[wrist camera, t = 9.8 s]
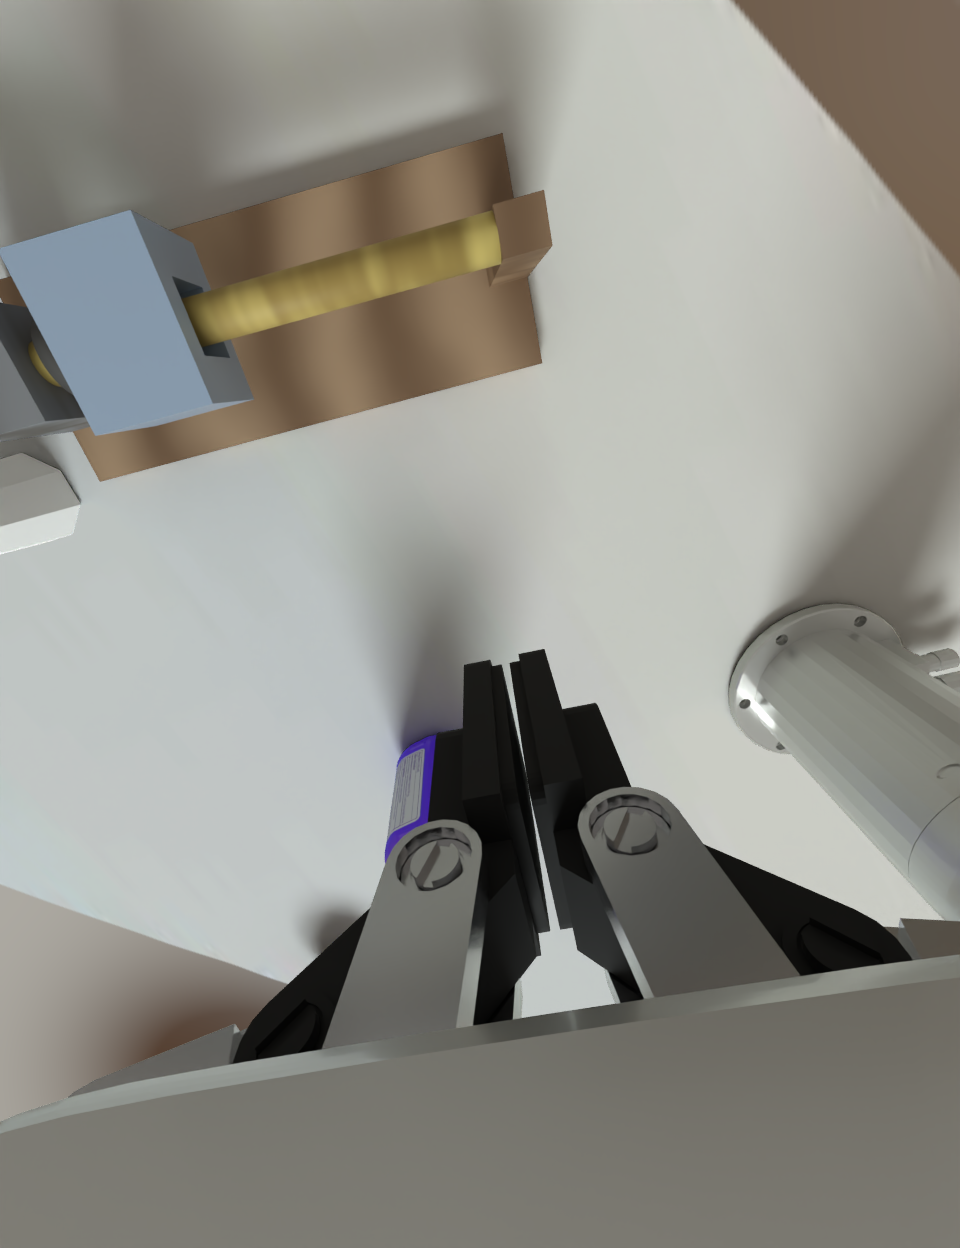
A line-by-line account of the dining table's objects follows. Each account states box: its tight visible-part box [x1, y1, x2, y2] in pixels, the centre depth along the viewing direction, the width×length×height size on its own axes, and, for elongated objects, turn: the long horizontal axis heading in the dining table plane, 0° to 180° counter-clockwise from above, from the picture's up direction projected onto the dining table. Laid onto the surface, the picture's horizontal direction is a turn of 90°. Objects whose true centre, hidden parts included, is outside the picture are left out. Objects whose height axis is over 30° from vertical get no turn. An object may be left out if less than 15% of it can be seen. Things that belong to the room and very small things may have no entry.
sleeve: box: [0, 210, 254, 436], centre depth 22 cm, size 5×6×5 cm
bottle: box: [385, 735, 436, 864], centre depth 34 cm, size 7×6×17 cm
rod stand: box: [0, 133, 552, 482], centre depth 25 cm, size 26×10×10 cm, turn 104°
